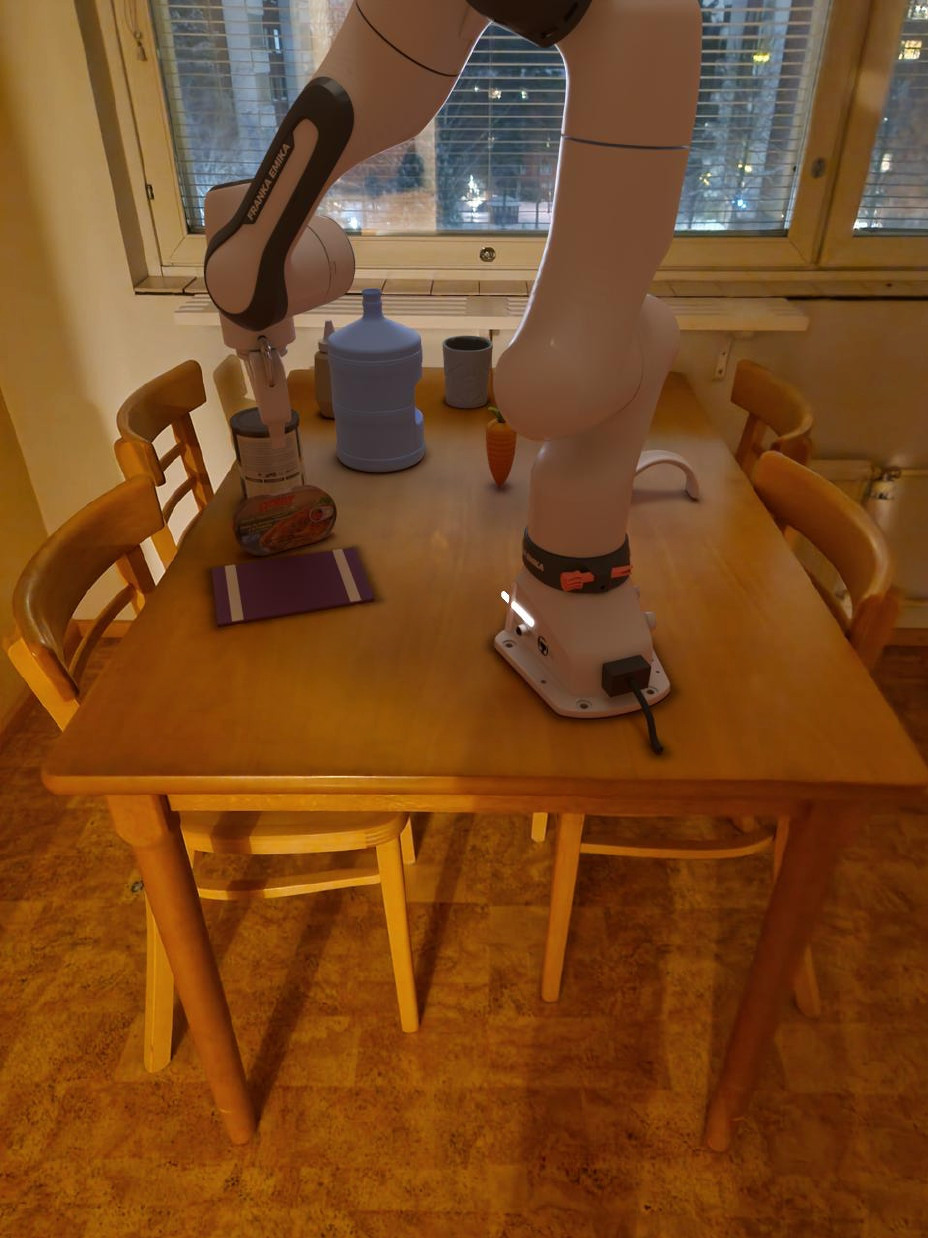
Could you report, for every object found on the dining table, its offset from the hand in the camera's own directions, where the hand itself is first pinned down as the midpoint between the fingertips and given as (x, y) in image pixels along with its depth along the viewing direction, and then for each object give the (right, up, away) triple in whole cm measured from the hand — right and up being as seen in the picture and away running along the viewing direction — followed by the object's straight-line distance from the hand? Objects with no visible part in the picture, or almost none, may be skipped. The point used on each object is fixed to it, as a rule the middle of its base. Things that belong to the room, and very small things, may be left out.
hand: (274, 433), depth 108 cm
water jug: (+11, +4, +36) cm, 38 cm away
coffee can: (-5, -6, +21) cm, 23 cm away
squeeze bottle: (0, +16, +53) cm, 56 cm away
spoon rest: (+51, -5, +24) cm, 57 cm away
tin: (0, -14, +10) cm, 17 cm away
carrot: (+31, -3, +26) cm, 41 cm away
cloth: (+2, -20, +1) cm, 20 cm away
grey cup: (+26, +20, +59) cm, 68 cm away
